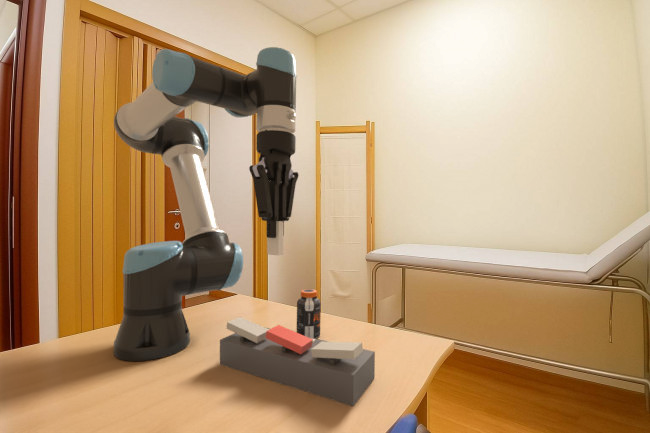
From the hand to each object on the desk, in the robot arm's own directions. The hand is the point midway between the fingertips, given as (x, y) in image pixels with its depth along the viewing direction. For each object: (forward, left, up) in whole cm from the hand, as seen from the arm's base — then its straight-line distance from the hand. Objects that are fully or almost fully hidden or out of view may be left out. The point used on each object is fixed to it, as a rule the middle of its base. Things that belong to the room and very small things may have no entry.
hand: (275, 254), depth 63 cm
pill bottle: (-3, +18, -23) cm, 29 cm away
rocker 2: (+14, -1, -16) cm, 21 cm away
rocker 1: (-6, -1, -16) cm, 17 cm away
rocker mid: (+4, -1, -16) cm, 16 cm away
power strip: (+4, +1, -22) cm, 23 cm away
